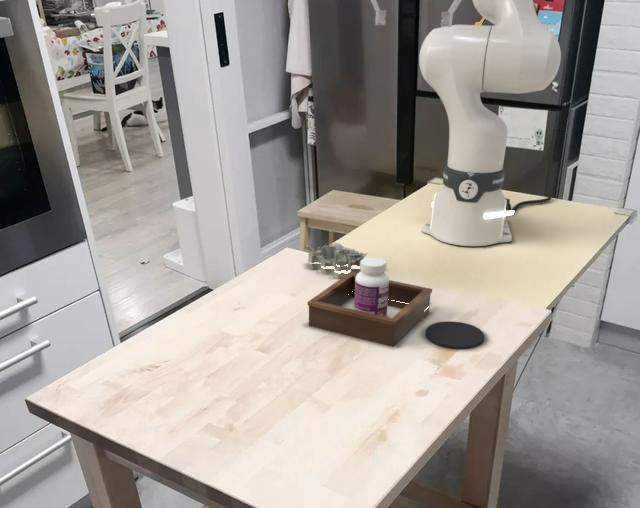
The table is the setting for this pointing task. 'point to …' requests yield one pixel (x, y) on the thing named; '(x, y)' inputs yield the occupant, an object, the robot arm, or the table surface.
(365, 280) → the pill bottle
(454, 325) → the coaster
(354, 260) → the egg carton
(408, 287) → the wooden square frame
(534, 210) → the table surface
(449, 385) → the table surface
